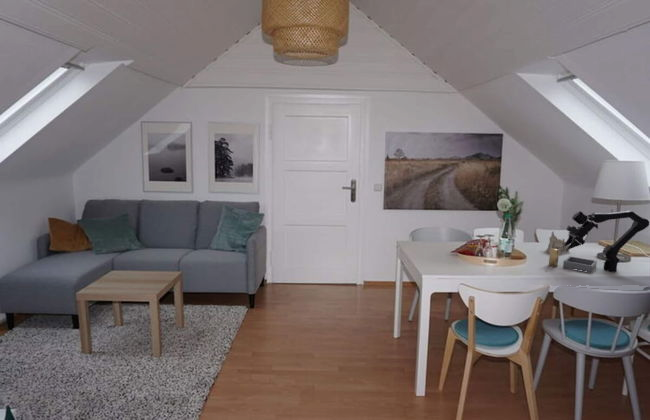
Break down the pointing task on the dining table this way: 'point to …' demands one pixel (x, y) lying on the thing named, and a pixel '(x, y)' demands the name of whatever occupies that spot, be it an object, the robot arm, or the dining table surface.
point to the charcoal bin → (580, 264)
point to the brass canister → (553, 257)
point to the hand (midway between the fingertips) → (566, 246)
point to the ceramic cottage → (558, 245)
